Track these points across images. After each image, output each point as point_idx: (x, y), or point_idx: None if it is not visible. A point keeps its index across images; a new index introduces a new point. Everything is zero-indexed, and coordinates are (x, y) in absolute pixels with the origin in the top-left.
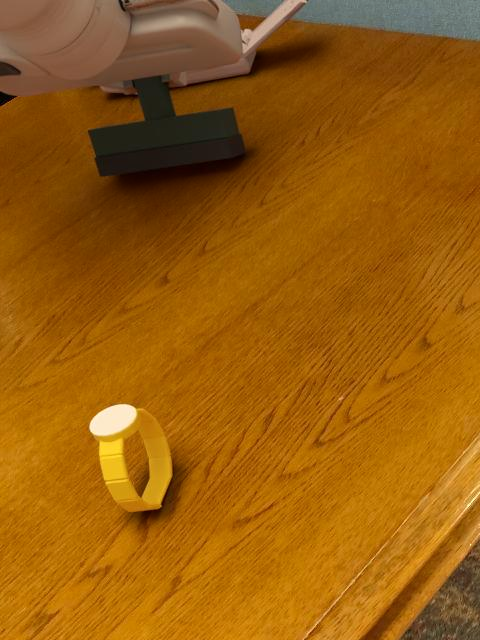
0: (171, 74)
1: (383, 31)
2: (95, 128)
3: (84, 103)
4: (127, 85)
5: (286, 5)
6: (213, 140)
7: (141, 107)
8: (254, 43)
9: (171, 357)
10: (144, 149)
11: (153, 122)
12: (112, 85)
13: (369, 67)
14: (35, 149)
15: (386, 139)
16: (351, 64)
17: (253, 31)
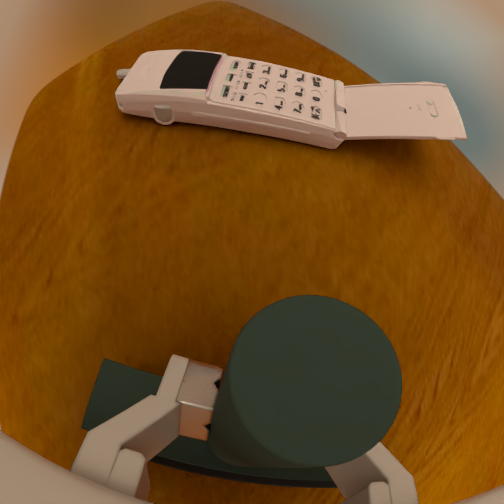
0: (342, 494)
1: (463, 154)
2: (92, 403)
3: (96, 115)
4: (190, 435)
5: (416, 98)
6: (331, 487)
7: (209, 442)
8: (365, 128)
9: None
10: (193, 465)
11: (232, 472)
12: (152, 456)
13: (472, 230)
14: (21, 211)
15: (486, 427)
16: (454, 208)
17: (345, 86)
